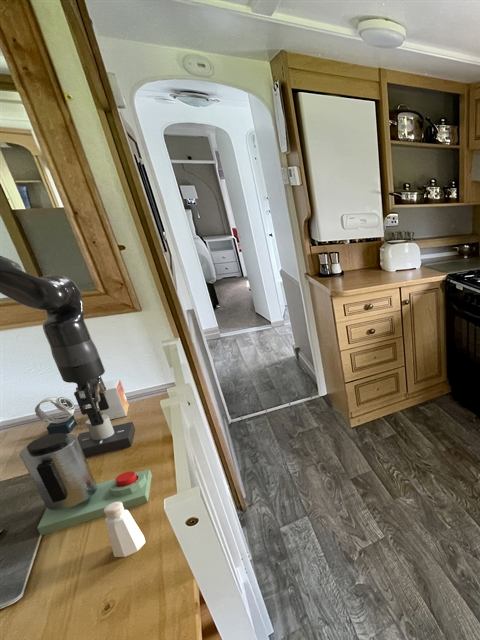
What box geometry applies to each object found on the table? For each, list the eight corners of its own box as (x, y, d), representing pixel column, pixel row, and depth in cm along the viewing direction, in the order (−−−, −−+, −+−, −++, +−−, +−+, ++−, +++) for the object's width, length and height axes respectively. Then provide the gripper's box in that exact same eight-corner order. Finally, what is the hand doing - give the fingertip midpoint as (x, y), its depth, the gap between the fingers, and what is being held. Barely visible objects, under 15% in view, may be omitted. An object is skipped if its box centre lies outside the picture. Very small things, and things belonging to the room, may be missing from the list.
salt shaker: (106, 552, 77) (87, 511, 73) (136, 532, 82) (120, 493, 77) (122, 562, 75) (104, 520, 71) (152, 541, 80) (136, 500, 76)
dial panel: (74, 460, 103) (70, 451, 102) (82, 441, 110) (79, 432, 109) (131, 446, 109) (128, 437, 108) (135, 429, 117) (132, 421, 116)
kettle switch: (116, 489, 88) (114, 483, 88) (118, 480, 91) (116, 474, 90) (136, 483, 90) (134, 477, 90) (138, 475, 93) (135, 469, 92)
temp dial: (113, 436, 108) (106, 419, 106) (90, 442, 106) (83, 424, 103) (115, 428, 112) (109, 412, 110) (93, 434, 109) (86, 416, 107)
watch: (78, 431, 115) (65, 400, 111) (42, 438, 112) (27, 405, 108) (85, 422, 120) (72, 391, 116) (50, 428, 116) (36, 397, 112)
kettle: (37, 521, 79) (7, 463, 73) (52, 492, 87) (25, 437, 81) (92, 505, 83) (67, 449, 78) (100, 478, 91) (78, 426, 85)
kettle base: (40, 535, 80) (33, 521, 79) (55, 503, 89) (48, 489, 87) (148, 502, 90) (143, 489, 88) (152, 475, 98) (147, 463, 97)
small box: (127, 416, 124) (116, 388, 120) (104, 421, 121) (93, 392, 117) (130, 406, 130) (120, 378, 126) (108, 410, 127) (97, 382, 123)
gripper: (63, 352, 94) (87, 409, 100) (47, 373, 83) (75, 435, 89) (103, 347, 98) (123, 401, 104) (93, 365, 87) (116, 425, 93)
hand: (101, 416), depth 97 cm, fingers open, 8 cm apart
